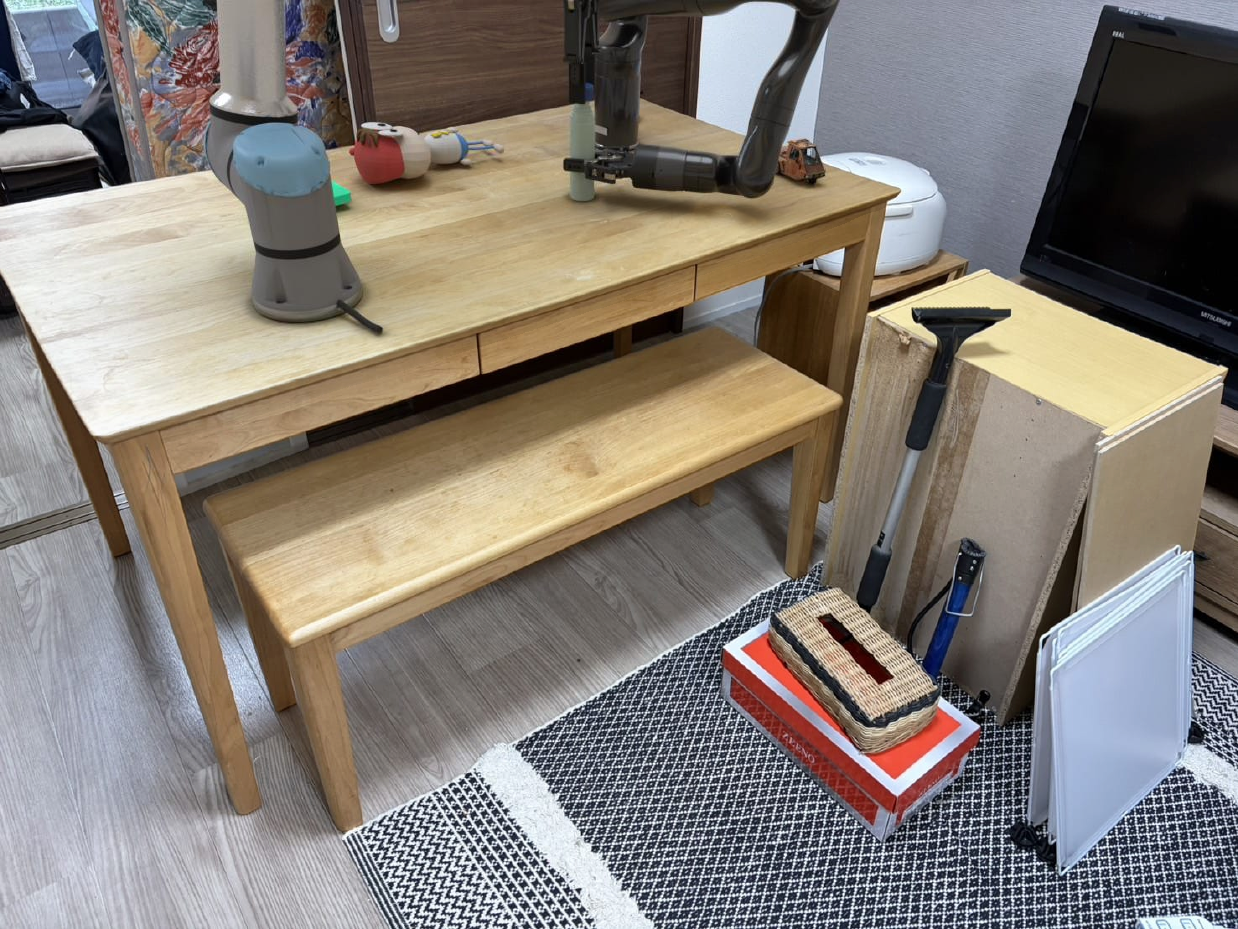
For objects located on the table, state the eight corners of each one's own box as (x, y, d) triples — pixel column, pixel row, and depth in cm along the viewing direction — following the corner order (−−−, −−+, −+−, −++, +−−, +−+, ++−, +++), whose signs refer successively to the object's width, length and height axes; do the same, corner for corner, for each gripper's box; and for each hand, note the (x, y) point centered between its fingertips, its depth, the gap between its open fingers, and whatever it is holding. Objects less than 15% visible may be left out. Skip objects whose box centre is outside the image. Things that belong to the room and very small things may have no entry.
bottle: (598, 194, 171) (599, 89, 159) (588, 202, 167) (588, 95, 156) (576, 190, 172) (576, 85, 161) (566, 198, 169) (565, 91, 157)
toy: (520, 129, 175) (365, 133, 160) (519, 183, 180) (369, 192, 165) (478, 113, 188) (332, 115, 173) (478, 164, 193) (336, 170, 178)
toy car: (784, 164, 186) (788, 129, 182) (830, 182, 178) (836, 146, 174) (762, 170, 183) (766, 135, 178) (807, 189, 175) (813, 152, 171)
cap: (597, 97, 160) (597, 84, 159) (587, 103, 157) (587, 89, 156) (577, 94, 161) (577, 81, 160) (566, 99, 158) (566, 86, 157)
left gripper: (576, -65, 153) (576, 82, 167) (541, -48, 139) (545, 111, 153) (620, -62, 152) (616, 86, 166) (589, -45, 137) (588, 115, 151)
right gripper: (668, 134, 167) (576, 126, 169) (655, 160, 156) (556, 151, 158) (666, 175, 171) (576, 167, 174) (653, 203, 160) (557, 193, 163)
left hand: (582, 97), depth 159 cm, fingers open, 5 cm apart
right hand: (567, 159), depth 166 cm, fingers closed on bottle, 4 cm apart
